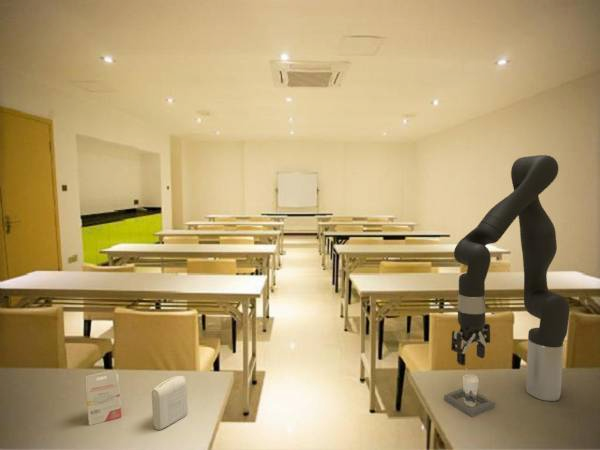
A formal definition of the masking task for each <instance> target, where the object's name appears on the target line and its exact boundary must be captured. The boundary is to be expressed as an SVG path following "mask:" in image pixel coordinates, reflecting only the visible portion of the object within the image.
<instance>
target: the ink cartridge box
mask: <svg viewBox="0 0 600 450" xmlns="http://www.w3.org/2000/svg"><path fill="white" fill-rule="evenodd" d="M84 389H85V396H86V399H85V400H86V408H87V409H86V411H87V419H88V421H89V422H88V425H89V426H92V425H96V424H100V423H104V422H107V421H112V420H116V419H120V418H122V403H121V401H122V400H121V392H120V391H121V390H120V381H119V373H118V372H117V370H115V369H114V370H109V371H105V372H99V373H95V374H90V375H86V376H85V388H84ZM103 418H104V419H103ZM98 419H100V420H98ZM95 420H96V421H95ZM90 421H92V422H90Z"/></svg>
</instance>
